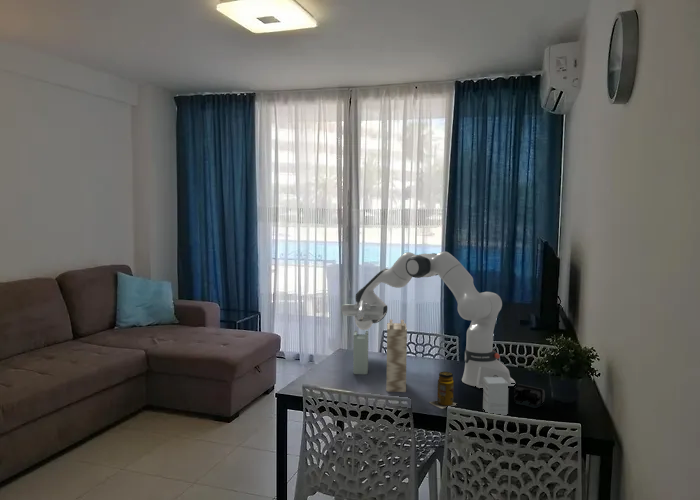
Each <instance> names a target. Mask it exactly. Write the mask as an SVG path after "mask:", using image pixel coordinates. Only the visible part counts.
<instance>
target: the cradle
mask: <svg viewBox="0 0 700 500" xmlns="http://www.w3.org/2000/svg"><path fill="white" fill-rule="evenodd" d="M352 342H353V349H352V350H353V353H352V355H353V356H352V357H353V358H352V361H353V364H352V366H353V367H352V370H353V373H352V374H353V375H368V372H369V331H368V330H365V332H364V334H359V333H358V330H354V332H353V339H352Z"/></svg>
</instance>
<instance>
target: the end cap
mask: <svg viewBox="0 0 700 500" xmlns="http://www.w3.org/2000/svg"><path fill="white" fill-rule="evenodd" d="M545 392H546V391H545V389H544V388H540V387H535V386H530V385H525V384H520V383H517V384H516V387H515V389H514V391H513V393H514V394H515V395H514V396H513V401H514V402H515V401H517V402H520V403H522V402H523V401H528V402H530V403H529V405H534V406H537V405H538V404H540V403H543V402H545V399H546V393H545ZM543 404H544V403H543Z"/></svg>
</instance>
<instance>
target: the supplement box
mask: <svg viewBox="0 0 700 500" xmlns="http://www.w3.org/2000/svg"><path fill="white" fill-rule="evenodd" d="M482 390H483V393H482V394H483V396H482V410H483V409H484V410H485V412H488V413H494V414H501V415H507V414H509V388H508V383H507V381H506V380H504V379H503V378H502V377H484V378H483V389H482ZM484 410H483V411H484ZM485 412H484V413H485Z"/></svg>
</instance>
